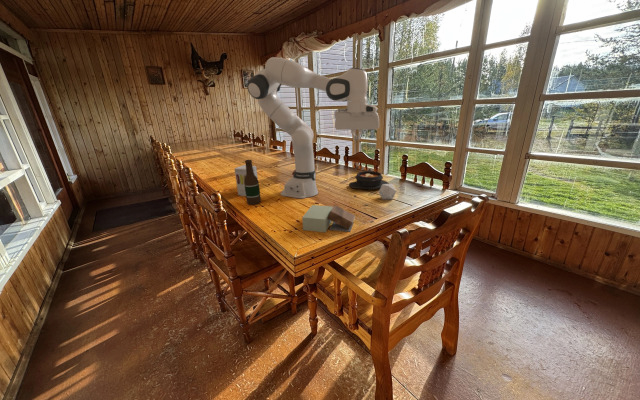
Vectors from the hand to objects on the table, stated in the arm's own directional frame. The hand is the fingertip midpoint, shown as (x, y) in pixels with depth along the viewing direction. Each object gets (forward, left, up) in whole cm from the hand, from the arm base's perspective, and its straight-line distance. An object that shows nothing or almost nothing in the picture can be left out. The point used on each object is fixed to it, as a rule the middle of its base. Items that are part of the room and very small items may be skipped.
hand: (356, 139), depth 120 cm
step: (-13, -23, -34) cm, 43 cm away
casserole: (+3, +34, -34) cm, 49 cm away
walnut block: (-7, -23, -28) cm, 37 cm away
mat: (-3, -23, -34) cm, 41 cm away
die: (+15, +15, -34) cm, 40 cm away
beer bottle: (-56, -5, -34) cm, 66 cm away
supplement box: (-67, +8, -34) cm, 76 cm away
